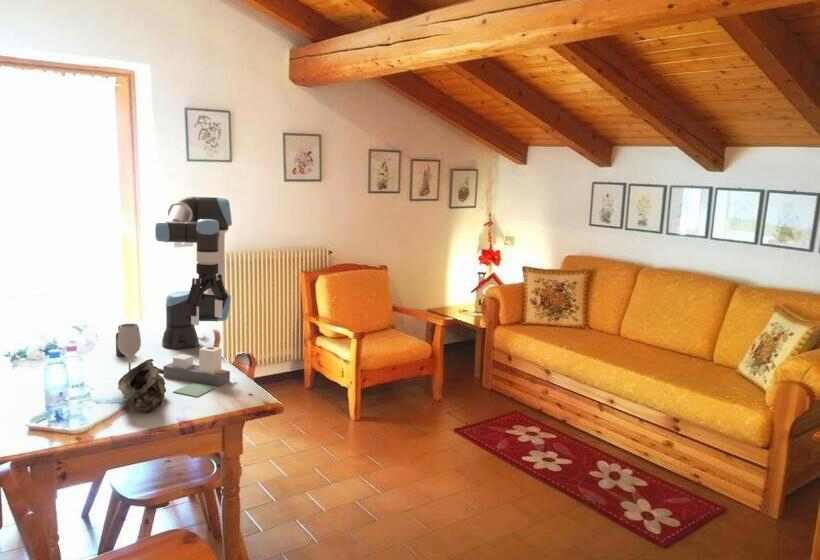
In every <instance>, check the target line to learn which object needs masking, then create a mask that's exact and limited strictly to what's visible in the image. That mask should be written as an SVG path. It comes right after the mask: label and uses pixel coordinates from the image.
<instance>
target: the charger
mask: <svg viewBox="0 0 820 560" xmlns="http://www.w3.org/2000/svg"><path fill="white" fill-rule="evenodd" d="M198 350H199V353H198V365H199V372H200V373H206V374H211V375H214V374H216V373H217V372H219V371H221V370H222V347H217V346H211V345H206V346H204V347H201V348H198Z"/></svg>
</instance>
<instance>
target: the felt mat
mask: <svg viewBox="0 0 820 560" xmlns="http://www.w3.org/2000/svg"><path fill="white" fill-rule="evenodd" d="M217 388H218V387H216V386H210V385H205V384H200V383H195V382H190V383H189V384H186V385H184V386H181V388H180V387H179V388H178V389H175V390H173V391H172V393H175V394H178V395H179V394H180V395H182V396H183V395H184V396H189V397H192V398H193V397H194V398H198V397H201V396H203V395H205V394H207V393H209V392H211V391H213V390H215V389H217Z"/></svg>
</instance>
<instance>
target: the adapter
mask: <svg viewBox="0 0 820 560" xmlns="http://www.w3.org/2000/svg"><path fill="white" fill-rule="evenodd" d="M172 363H173V368H179V369H184V370H185V369H187V368H190V367H192V366H193V364H194V356H193V355H188V354H183V353H182V354H179V355H176V356H174V357H173V358H172Z"/></svg>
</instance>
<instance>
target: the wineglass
mask: <svg viewBox="0 0 820 560" xmlns="http://www.w3.org/2000/svg"><path fill="white" fill-rule="evenodd" d="M119 326H120V328H119V331H118V332H119V333H118V332H117V333H118V348H119V351H120V352H121V353H122V354H124V355H125V356H126V358H127V361H128V363H127V364H128V372H129V371H130V370H131V369H132V363H131V362H132V357H134V356H135V355H136V354H137V353H138V352H139V351H140V348H141V347H142V345H141V344H142V340H141V332H140V328H139V324H137V323H132V322H131V323H123V324H120V325H119Z"/></svg>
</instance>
